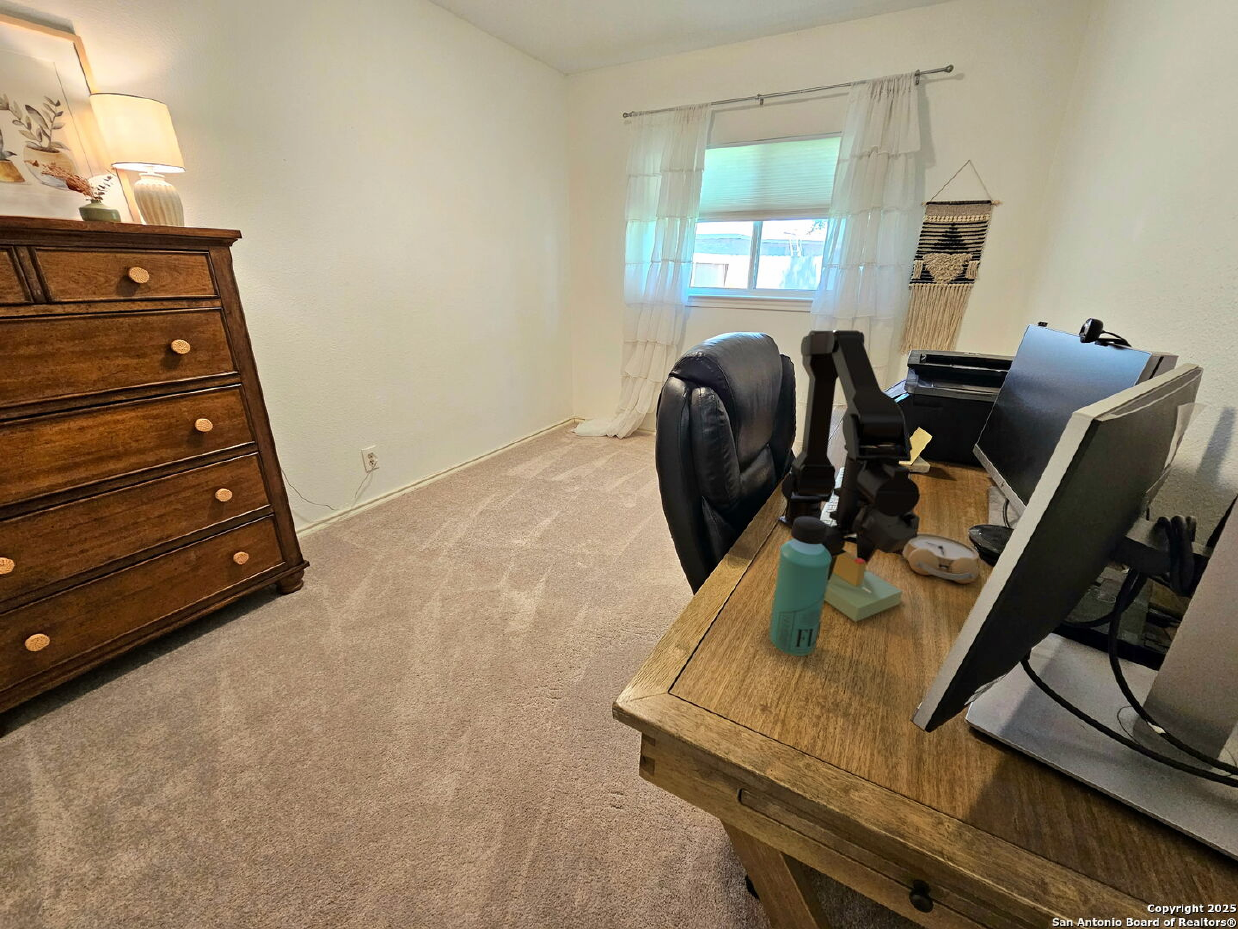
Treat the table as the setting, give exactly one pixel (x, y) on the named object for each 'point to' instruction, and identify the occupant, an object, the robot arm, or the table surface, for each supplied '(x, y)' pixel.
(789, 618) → the beverage bottle
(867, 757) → the table surface
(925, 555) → the alarm clock
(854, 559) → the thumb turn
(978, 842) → the table surface
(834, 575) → the plate
